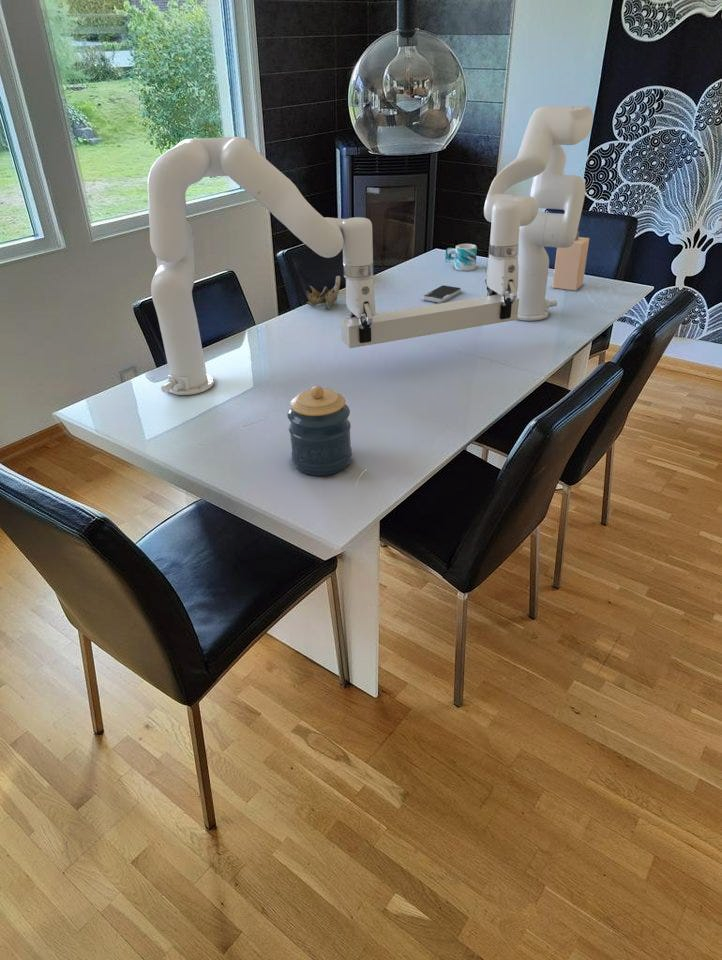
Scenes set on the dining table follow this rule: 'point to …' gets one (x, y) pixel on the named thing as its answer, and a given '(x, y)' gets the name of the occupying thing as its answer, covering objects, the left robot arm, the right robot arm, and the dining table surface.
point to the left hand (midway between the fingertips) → (360, 337)
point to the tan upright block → (571, 264)
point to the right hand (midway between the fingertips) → (498, 313)
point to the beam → (428, 320)
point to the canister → (320, 432)
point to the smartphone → (441, 294)
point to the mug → (463, 256)
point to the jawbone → (324, 295)
